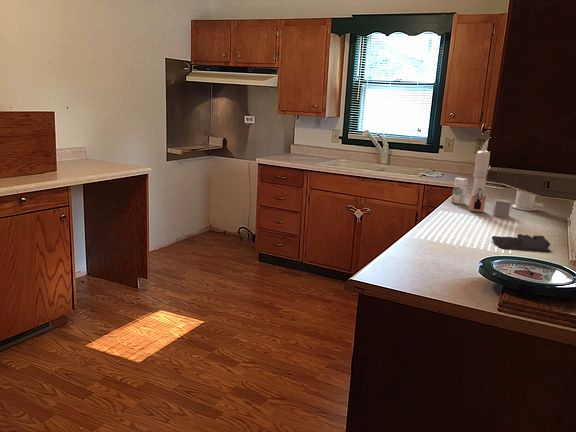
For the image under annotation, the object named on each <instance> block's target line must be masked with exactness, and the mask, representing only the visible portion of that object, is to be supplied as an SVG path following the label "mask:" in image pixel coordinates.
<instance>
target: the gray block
mask: <svg viewBox="0 0 576 432" xmlns="http://www.w3.org/2000/svg"><path fill="white" fill-rule="evenodd" d="M511 206H512V204H511V201H510V200H509V199H500V198H494V201H493V207H492V216H493V217H498V218H503V219H504V218H507V219H509V215H510V209H511Z"/></svg>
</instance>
